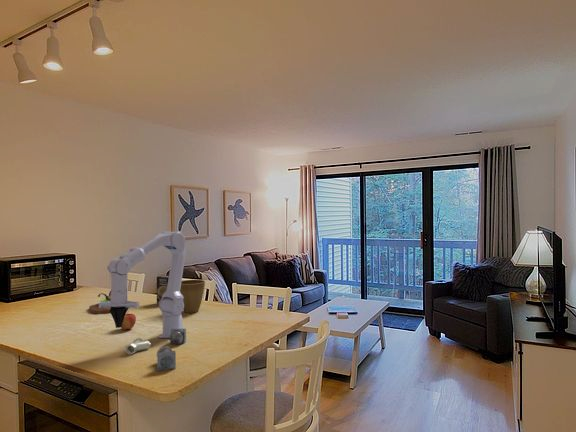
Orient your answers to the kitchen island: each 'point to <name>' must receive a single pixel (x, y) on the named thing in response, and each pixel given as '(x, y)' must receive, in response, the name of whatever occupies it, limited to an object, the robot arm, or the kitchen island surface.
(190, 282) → the plant pot
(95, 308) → the plant
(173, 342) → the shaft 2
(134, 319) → the apple
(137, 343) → the pipe fitting
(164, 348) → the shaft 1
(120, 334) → the kitchen island surface
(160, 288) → the coffee box
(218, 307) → the kitchen island surface
